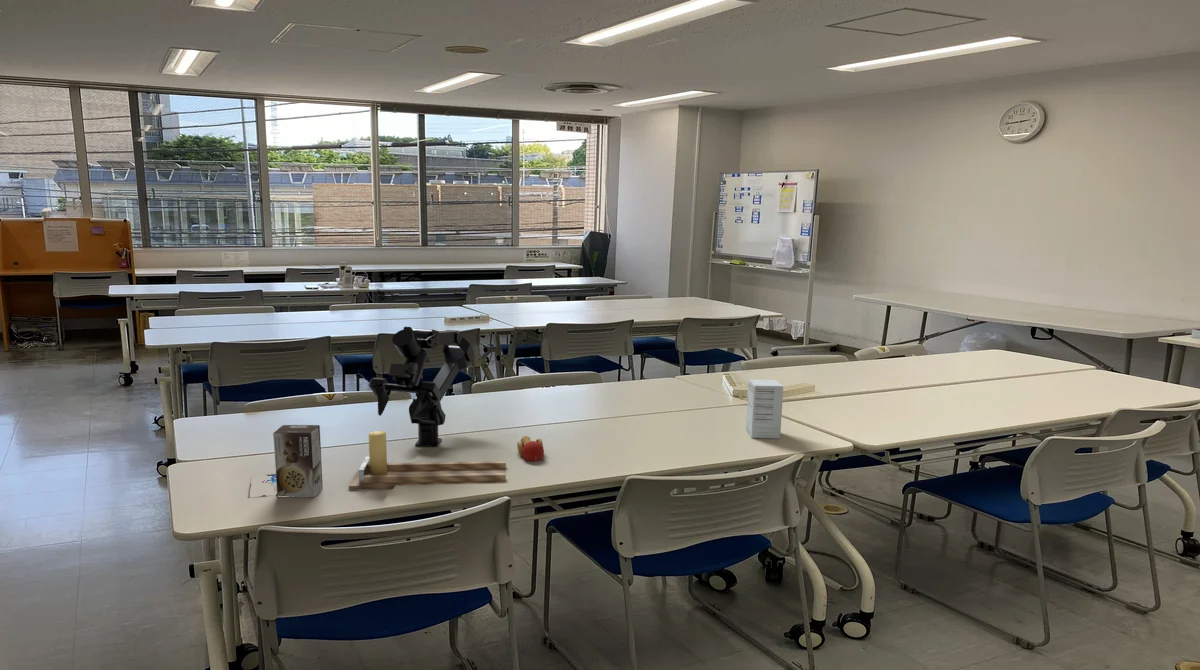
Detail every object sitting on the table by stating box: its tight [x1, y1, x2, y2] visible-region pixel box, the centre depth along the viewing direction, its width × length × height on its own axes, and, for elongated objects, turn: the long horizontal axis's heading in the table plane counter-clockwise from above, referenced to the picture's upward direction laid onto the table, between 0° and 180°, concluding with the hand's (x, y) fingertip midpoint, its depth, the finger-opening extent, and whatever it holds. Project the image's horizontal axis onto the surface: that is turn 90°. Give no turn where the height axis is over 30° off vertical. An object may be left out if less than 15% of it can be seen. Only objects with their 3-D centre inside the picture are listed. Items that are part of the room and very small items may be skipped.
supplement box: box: [745, 379, 784, 440], centre depth 237 cm, size 10×9×17 cm
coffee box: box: [272, 424, 324, 498], centre depth 180 cm, size 9×6×16 cm
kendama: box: [516, 435, 545, 462], centre depth 213 cm, size 8×6×18 cm
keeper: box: [368, 430, 388, 475], centre depth 190 cm, size 4×4×11 cm
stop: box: [358, 455, 370, 483], centre depth 191 cm, size 1×10×4 cm, turn 7°
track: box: [348, 460, 507, 491], centre depth 193 cm, size 38×14×2 cm, turn 97°
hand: (395, 416), depth 200 cm, fingers open, 9 cm apart
